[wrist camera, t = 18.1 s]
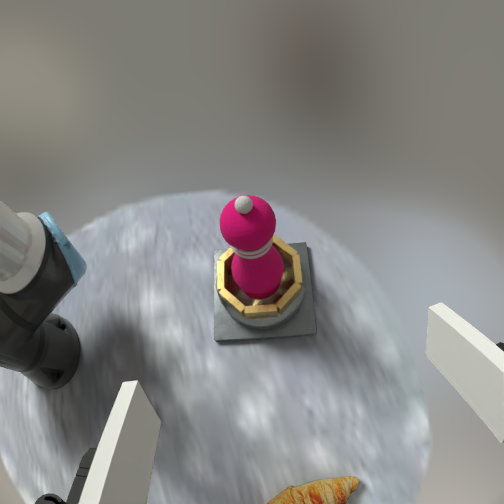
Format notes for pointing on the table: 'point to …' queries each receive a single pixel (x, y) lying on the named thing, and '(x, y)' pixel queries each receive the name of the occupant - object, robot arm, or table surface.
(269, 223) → the pepper mill
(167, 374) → the table surface
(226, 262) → the silver and gold bowl
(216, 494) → the table surface
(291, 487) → the croissant
